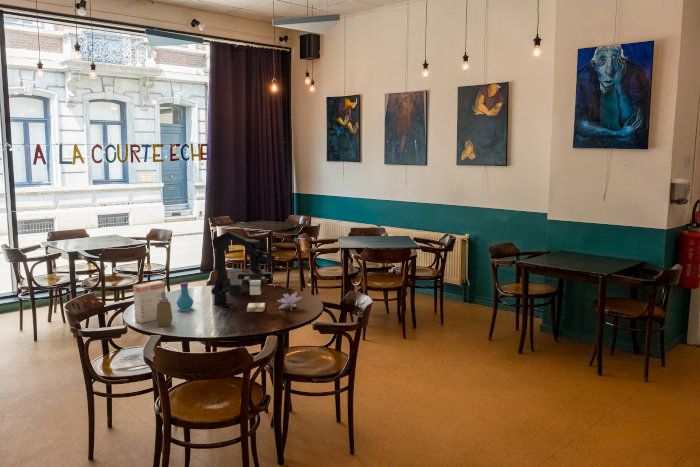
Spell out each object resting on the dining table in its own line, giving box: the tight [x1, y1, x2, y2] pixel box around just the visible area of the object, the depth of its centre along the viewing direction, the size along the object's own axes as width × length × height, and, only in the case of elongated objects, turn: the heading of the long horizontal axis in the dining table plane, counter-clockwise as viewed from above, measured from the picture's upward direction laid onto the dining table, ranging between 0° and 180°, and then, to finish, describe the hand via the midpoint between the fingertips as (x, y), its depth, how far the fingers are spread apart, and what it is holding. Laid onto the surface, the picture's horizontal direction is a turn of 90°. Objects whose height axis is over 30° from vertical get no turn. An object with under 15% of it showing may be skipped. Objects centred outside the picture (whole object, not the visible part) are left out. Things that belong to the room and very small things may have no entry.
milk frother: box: [227, 268, 245, 296], centre depth 379 cm, size 14×16×15 cm
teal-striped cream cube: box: [249, 279, 262, 296], centre depth 338 cm, size 6×6×7 cm
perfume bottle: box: [175, 282, 194, 312], centre depth 341 cm, size 9×9×15 cm
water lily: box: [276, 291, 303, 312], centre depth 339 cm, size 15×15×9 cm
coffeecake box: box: [132, 280, 166, 324], centre depth 321 cm, size 15×7×20 cm, turn 134°
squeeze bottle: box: [155, 291, 174, 328], centre depth 309 cm, size 8×8×18 cm
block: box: [246, 302, 266, 313], centre depth 340 cm, size 9×9×3 cm
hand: (255, 290), depth 339 cm, fingers closed on teal-striped cream cube, 6 cm apart
